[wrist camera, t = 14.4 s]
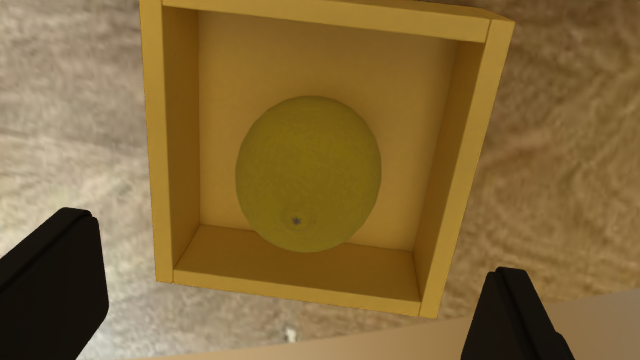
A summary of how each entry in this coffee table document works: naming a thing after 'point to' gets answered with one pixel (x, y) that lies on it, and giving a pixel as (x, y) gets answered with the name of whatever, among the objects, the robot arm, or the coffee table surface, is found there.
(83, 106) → the coffee table surface
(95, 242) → the robot arm
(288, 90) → the yellow bin
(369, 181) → the lemon
